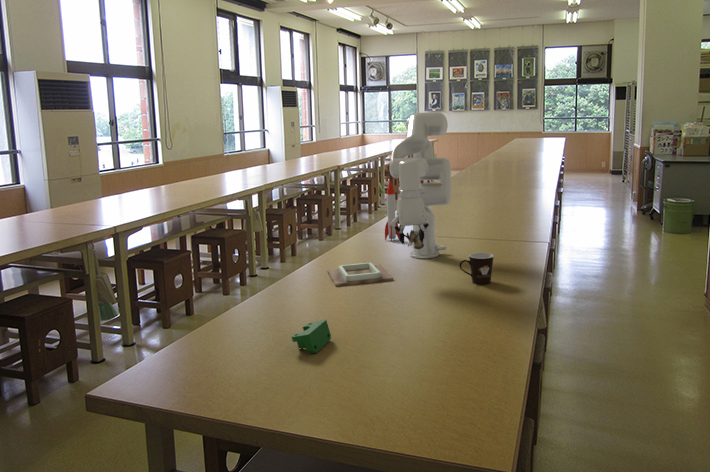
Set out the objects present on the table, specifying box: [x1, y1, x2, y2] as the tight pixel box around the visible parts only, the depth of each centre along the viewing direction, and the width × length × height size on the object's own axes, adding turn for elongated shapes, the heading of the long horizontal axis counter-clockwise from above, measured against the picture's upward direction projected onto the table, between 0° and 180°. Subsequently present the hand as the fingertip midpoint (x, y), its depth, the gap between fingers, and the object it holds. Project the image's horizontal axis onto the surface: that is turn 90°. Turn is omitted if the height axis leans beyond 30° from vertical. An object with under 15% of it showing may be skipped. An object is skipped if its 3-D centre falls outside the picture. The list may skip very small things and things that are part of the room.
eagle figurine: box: [404, 229, 424, 249], centre depth 205 cm, size 8×7×9 cm
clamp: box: [291, 319, 332, 354], centre depth 153 cm, size 12×6×9 cm, turn 152°
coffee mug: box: [459, 252, 494, 286], centre depth 203 cm, size 12×9×10 cm
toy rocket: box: [384, 179, 399, 243], centre depth 276 cm, size 6×6×30 cm
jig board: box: [327, 262, 394, 287], centre depth 218 cm, size 22×20×3 cm
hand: (411, 241), depth 208 cm, fingers closed on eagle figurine, 6 cm apart
